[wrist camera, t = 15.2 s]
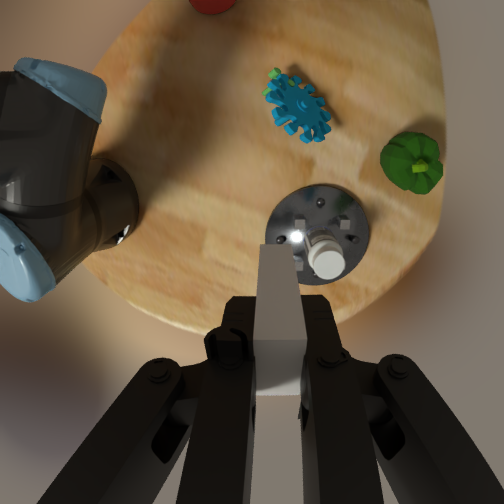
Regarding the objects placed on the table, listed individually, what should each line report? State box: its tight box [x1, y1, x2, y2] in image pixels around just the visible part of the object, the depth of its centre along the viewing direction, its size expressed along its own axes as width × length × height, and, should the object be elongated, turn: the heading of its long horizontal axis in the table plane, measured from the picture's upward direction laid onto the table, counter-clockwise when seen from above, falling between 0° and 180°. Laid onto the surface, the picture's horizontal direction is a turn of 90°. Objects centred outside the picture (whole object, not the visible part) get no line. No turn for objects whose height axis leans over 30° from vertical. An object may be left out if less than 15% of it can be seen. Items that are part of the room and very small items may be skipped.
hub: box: [265, 186, 369, 285], centre depth 39 cm, size 16×16×3 cm
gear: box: [262, 68, 331, 143], centre depth 31 cm, size 11×6×10 cm
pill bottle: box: [303, 226, 345, 279], centre depth 36 cm, size 5×5×8 cm
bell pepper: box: [380, 132, 443, 194], centre depth 30 cm, size 8×8×10 cm
